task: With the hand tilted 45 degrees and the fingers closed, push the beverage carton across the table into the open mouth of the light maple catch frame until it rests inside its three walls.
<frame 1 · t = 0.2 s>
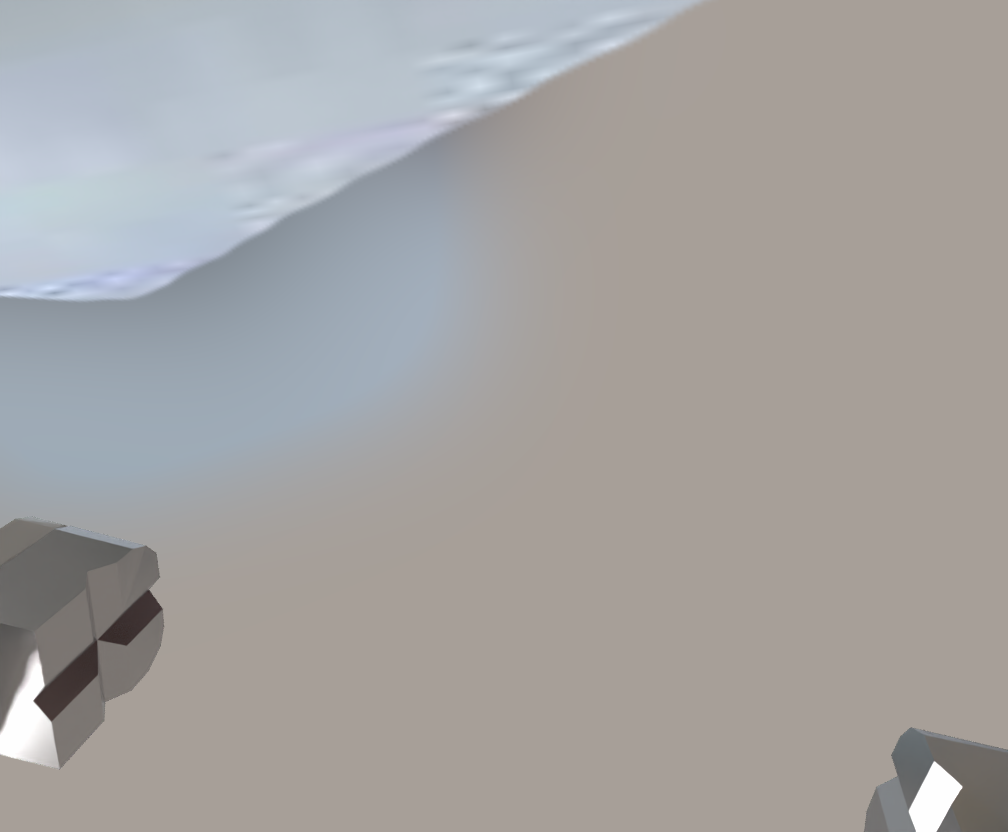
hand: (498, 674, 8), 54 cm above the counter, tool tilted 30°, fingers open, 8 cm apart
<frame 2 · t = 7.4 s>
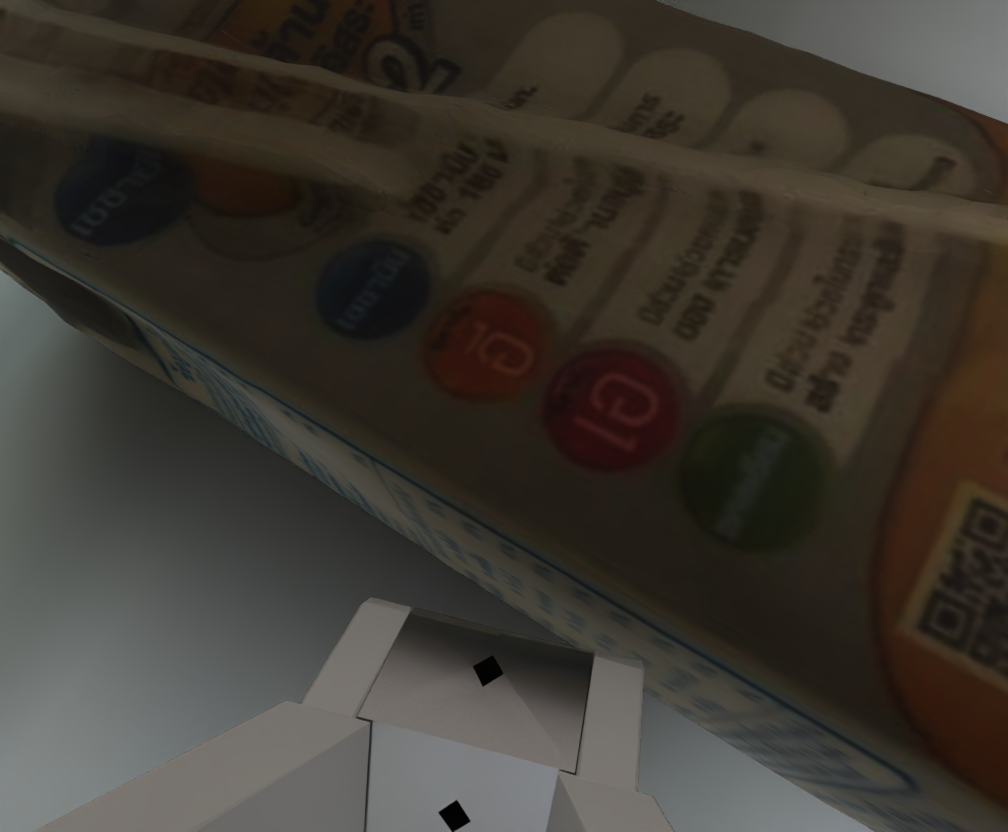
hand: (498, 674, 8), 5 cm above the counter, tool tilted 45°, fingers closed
beverage carton: (558, 401, 15), on the counter, touching gripper
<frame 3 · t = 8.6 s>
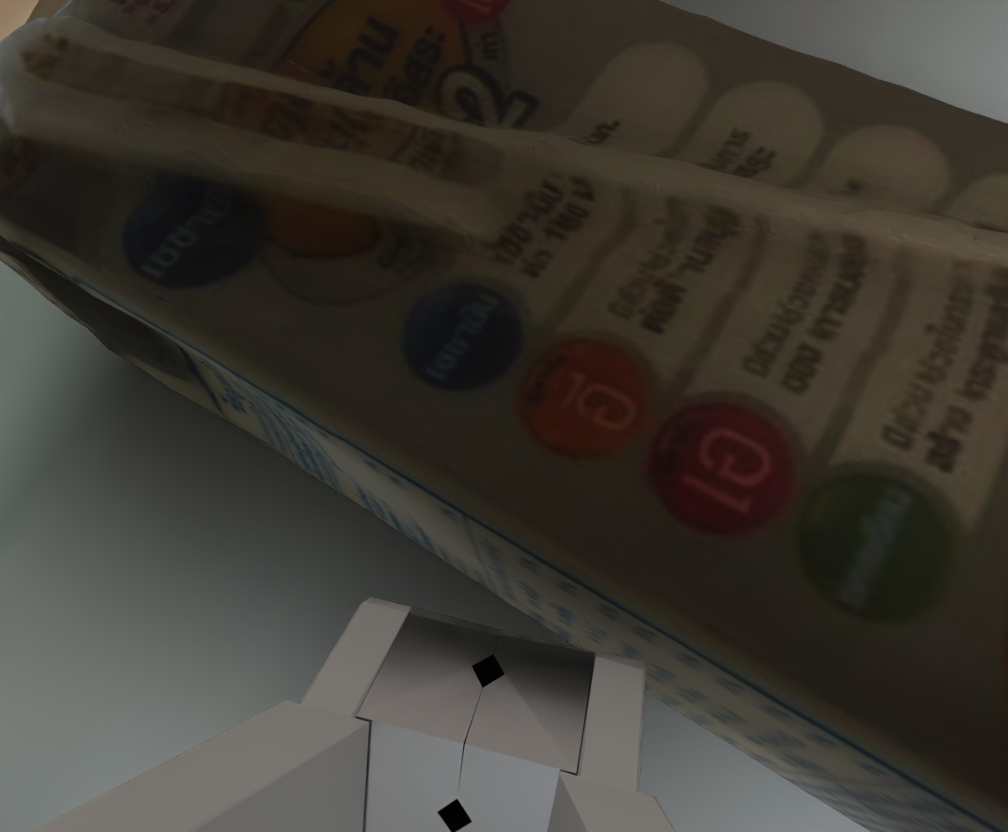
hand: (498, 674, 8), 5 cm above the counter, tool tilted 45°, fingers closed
beverage carton: (612, 430, 14), on the counter, touching gripper
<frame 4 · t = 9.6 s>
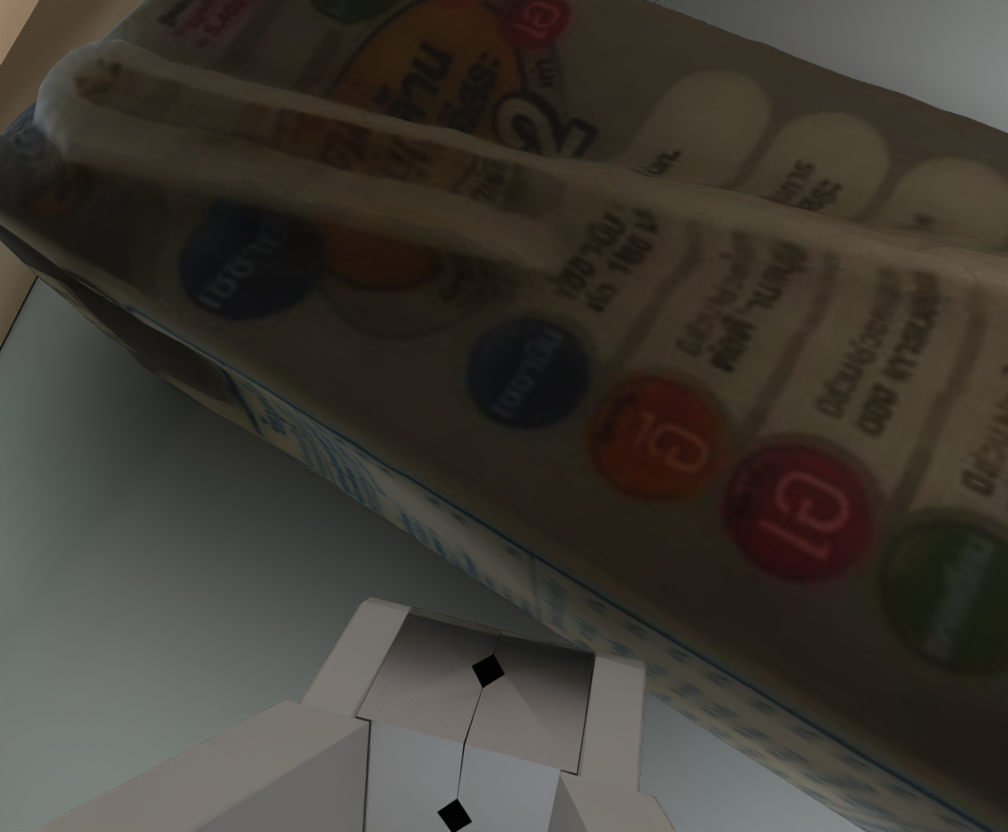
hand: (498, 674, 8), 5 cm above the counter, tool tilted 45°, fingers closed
catch frame: (650, 88, 17), on the counter
beverage carton: (651, 453, 14), on the counter
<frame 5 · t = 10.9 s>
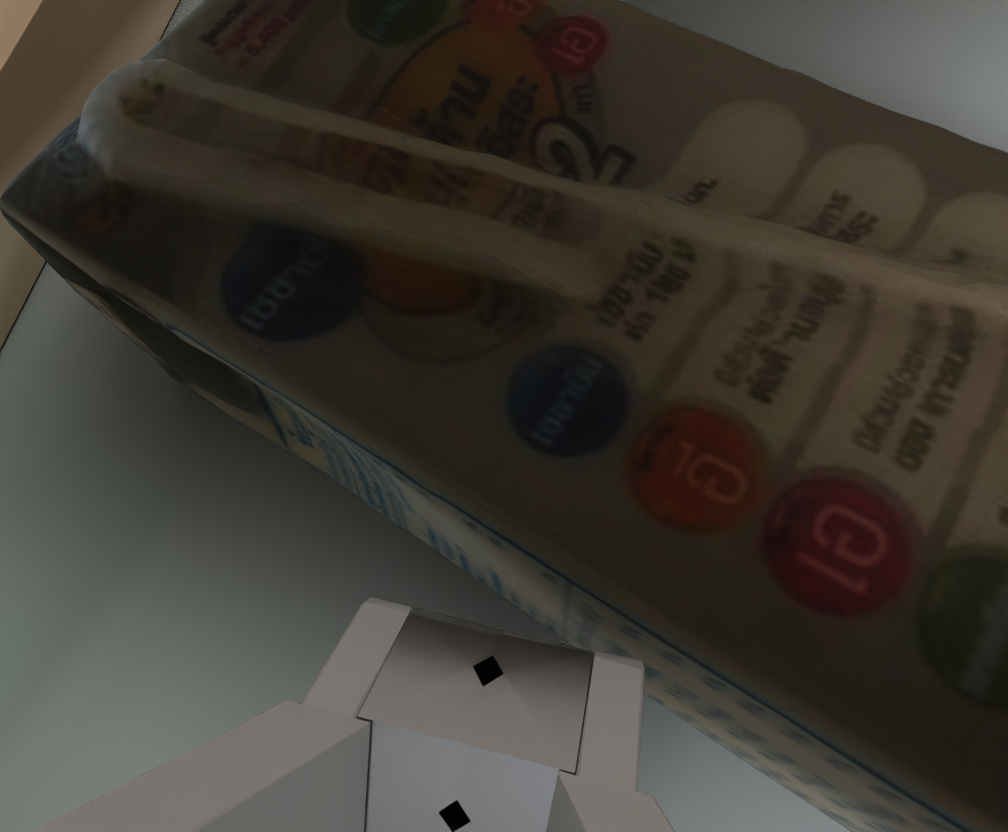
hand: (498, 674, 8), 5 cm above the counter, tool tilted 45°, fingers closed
catch frame: (620, 222, 16), on the counter
beverage carton: (673, 470, 14), on the counter
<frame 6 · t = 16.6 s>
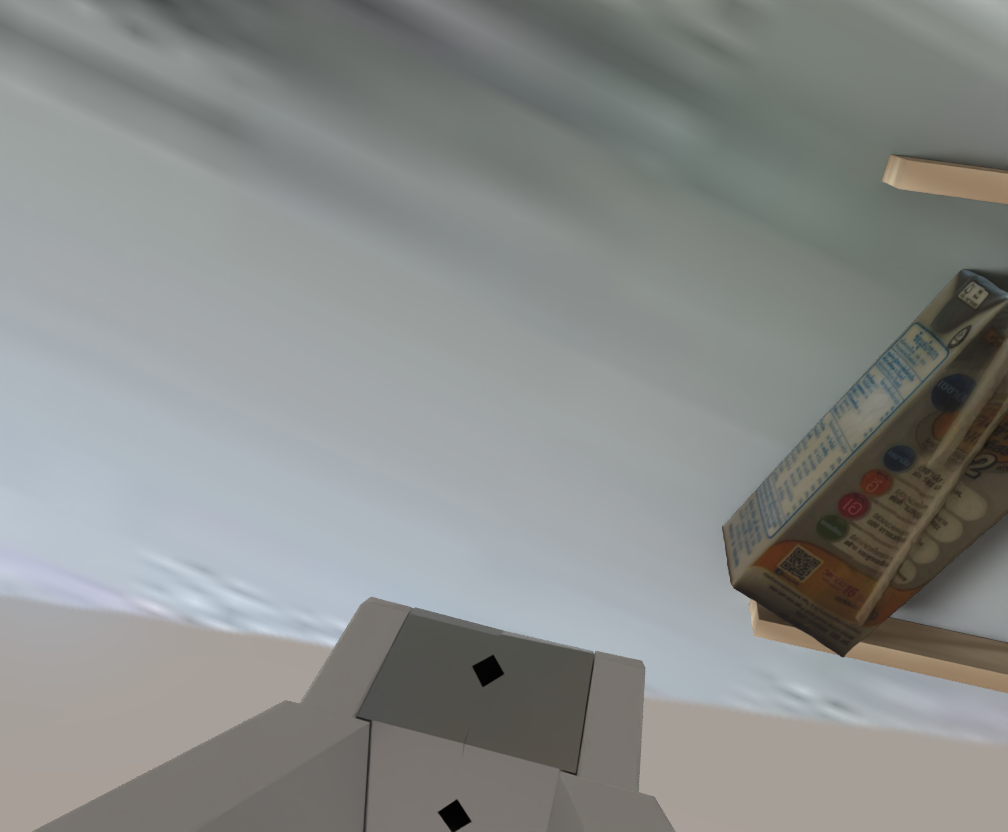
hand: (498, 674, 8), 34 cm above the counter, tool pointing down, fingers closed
catch frame: (1007, 445, 40), on the counter
beverage carton: (883, 443, 41), on the counter
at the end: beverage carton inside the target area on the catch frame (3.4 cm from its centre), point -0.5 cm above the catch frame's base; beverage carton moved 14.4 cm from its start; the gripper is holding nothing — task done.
